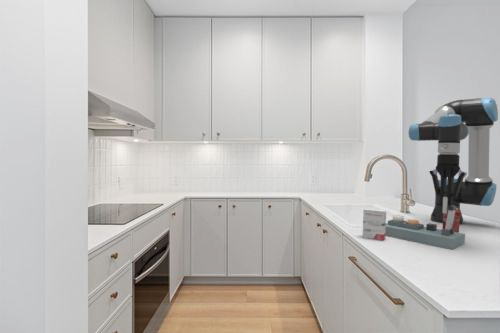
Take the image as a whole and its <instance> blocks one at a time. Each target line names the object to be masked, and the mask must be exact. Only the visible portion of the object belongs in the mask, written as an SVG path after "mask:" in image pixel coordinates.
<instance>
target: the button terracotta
mask: <svg viewBox="0 0 500 333" xmlns="http://www.w3.org/2000/svg"><path fill="white" fill-rule="evenodd" d="M406 221H407V224H410V225H416V226H417V225H419V223H420V221H419V220H416V219H407V220H406Z"/></svg>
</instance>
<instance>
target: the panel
mask: <svg viewBox="0 0 500 333" xmlns="http://www.w3.org/2000/svg"><path fill="white" fill-rule="evenodd" d="M407 221H408V220H404V222H403V223H399V222H393V219H390V220H387V222H386V232H385V237H392V238H396V239H400V240H405V241H410V242H415V243H420V244H422V245H424V244H425V245H429V246H434V247H438V248H443V249H448V250H454V249H456V248H458V247H461V246H462V245H465V243H466V242H465V240H466V239H465V238H466V233H462V232H459V233H458V232H454V228H452V229H451V230H452V232H451V233H449V230H445V229H443V228H442V229H440V228H437V230H436V231H430V230H426V226H425V224H424V223H420V222H419V225H417V226H416V225H410V224H407Z"/></svg>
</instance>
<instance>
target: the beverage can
mask: <svg viewBox="0 0 500 333" xmlns="http://www.w3.org/2000/svg"><path fill="white" fill-rule="evenodd" d="M447 216H448V213H447V214H445V213H443V223H442V229H445V226H446V221H447ZM459 222H460V212H459V210H458V209H456V210H455V215H454V220H453V225H452V228H454V232H458V233H460V224H459Z"/></svg>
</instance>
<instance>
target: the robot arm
mask: <svg viewBox="0 0 500 333" xmlns="http://www.w3.org/2000/svg"><path fill="white" fill-rule="evenodd" d="M496 102H497V101H496V100H495V99H494V98H493V97H477V98H467V99H457V100H454V101H449V102H448V103H445V104H443V105H441V106H440V107H437V109H436V110H435V111H434V113H433V114H432V115H431V116H429V117H428V118H427V119H425V120H424V121H422V122H421V123H414V124H413V123H412V124H411V125H410V126H409V127H408V137H409V139H410V140H411V141H417V142H422V141H424V142H425V141H437V153H438V154H437V161H436V166H435V168H434V169H431V170H430V171H429V174H430V176H431V177H432V178H431V179H432V183H433V188H434V193H435V195H434V196H435V198H434V206H433V207H434V208H433V210H432V211H431V215H430V220H431V221H433V222H436V223H442V224H443V213H445V214H447V213H448V211H449V210H448V207H449V206H450V205H455V206H457V209H458V210H459V212H460V222H459V225H460V224H463V223H464V217H463V214H462V211H461V204H463V205H465V204H466V205H472V206H473V205H475V206H482V207H484V206H485V207H489V206H492V204H493V203H494V201H495V197H496V193H497V184H496V183H494V182H493V178H492V177H491V176H489V175H490V174H489V173H490V136H491V135H490V132H491V131H490V129H491V128H492V127H493V126H494V123H495V122H497V121H498V120H499V119H498V118H499V112H498V104H497V103H496ZM467 137H468V159H467V160H468V172H466V171H463V170H462V169H461V167H460V158H461V157H460V155H459V154H460V152H461V141H463V140H465V139H466V138H467ZM467 173H468V175H467ZM438 174H439V176H440V179H439V178H438ZM457 175H458V177H457V178H455V176H457ZM466 176H467V177H466Z"/></svg>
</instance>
